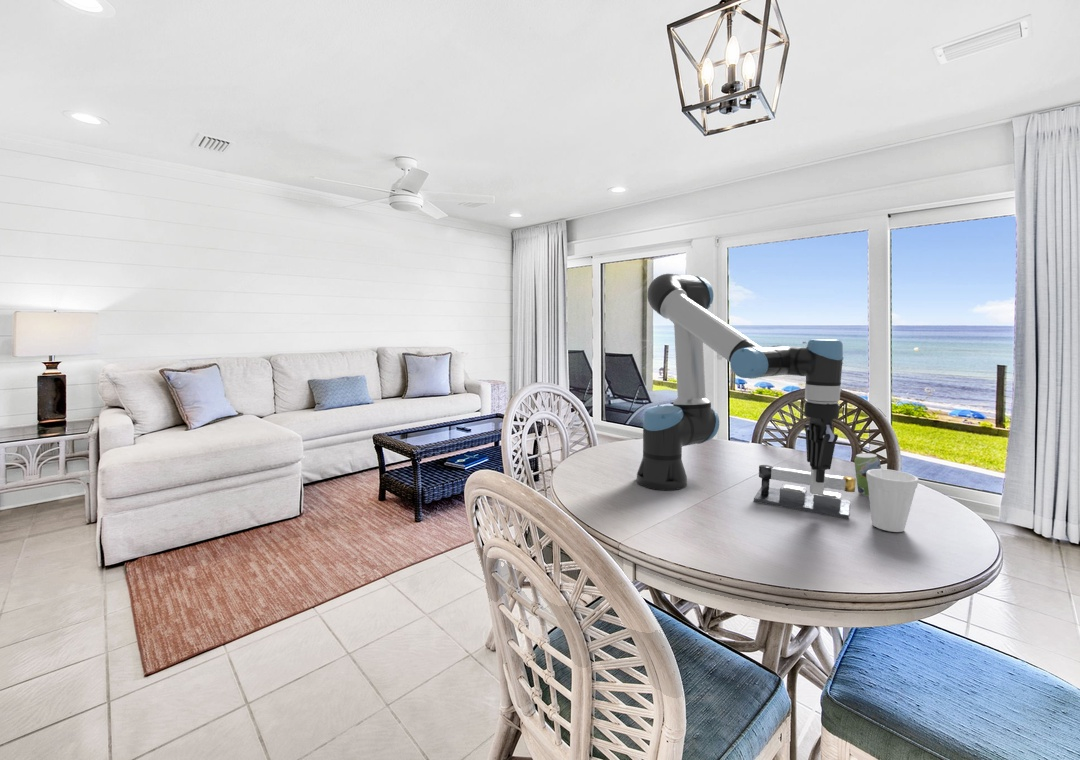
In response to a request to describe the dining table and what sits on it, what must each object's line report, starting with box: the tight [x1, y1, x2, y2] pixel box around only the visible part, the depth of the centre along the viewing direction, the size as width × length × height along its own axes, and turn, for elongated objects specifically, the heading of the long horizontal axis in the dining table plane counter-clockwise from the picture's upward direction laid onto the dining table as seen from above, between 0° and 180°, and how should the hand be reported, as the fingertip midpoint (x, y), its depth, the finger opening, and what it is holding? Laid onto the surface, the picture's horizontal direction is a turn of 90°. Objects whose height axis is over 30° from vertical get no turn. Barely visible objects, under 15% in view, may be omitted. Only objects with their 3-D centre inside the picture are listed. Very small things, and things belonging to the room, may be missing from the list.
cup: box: [866, 468, 920, 533], centre depth 113 cm, size 10×10×13 cm
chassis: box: [753, 478, 851, 520], centre depth 129 cm, size 22×12×6 cm, turn 56°
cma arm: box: [758, 464, 857, 493], centre depth 128 cm, size 23×4×3 cm, turn 56°
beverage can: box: [853, 452, 882, 498], centre depth 135 cm, size 6×7×12 cm
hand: (816, 493), depth 120 cm, fingers closed
